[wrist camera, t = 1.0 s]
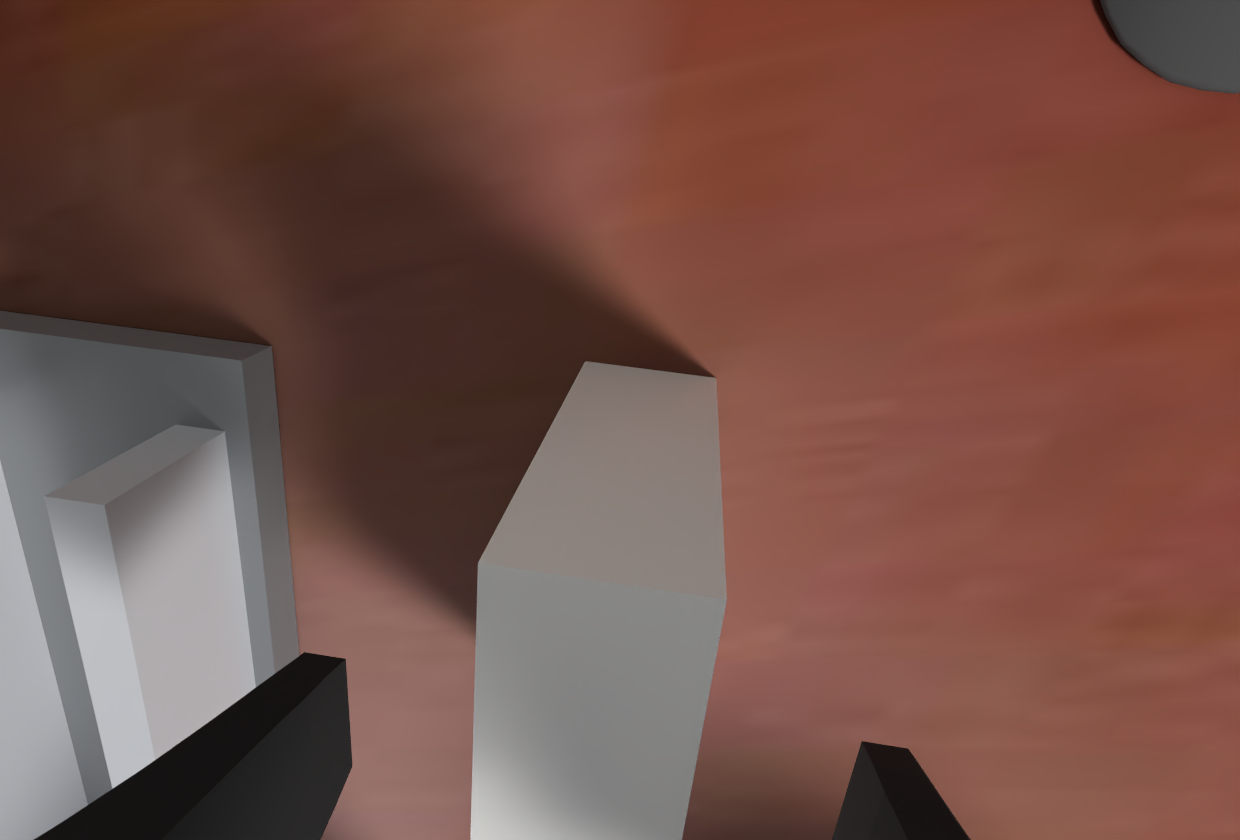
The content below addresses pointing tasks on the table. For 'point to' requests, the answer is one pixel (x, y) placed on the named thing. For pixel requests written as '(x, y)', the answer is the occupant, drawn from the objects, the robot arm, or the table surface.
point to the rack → (130, 552)
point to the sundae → (1182, 39)
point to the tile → (602, 616)
